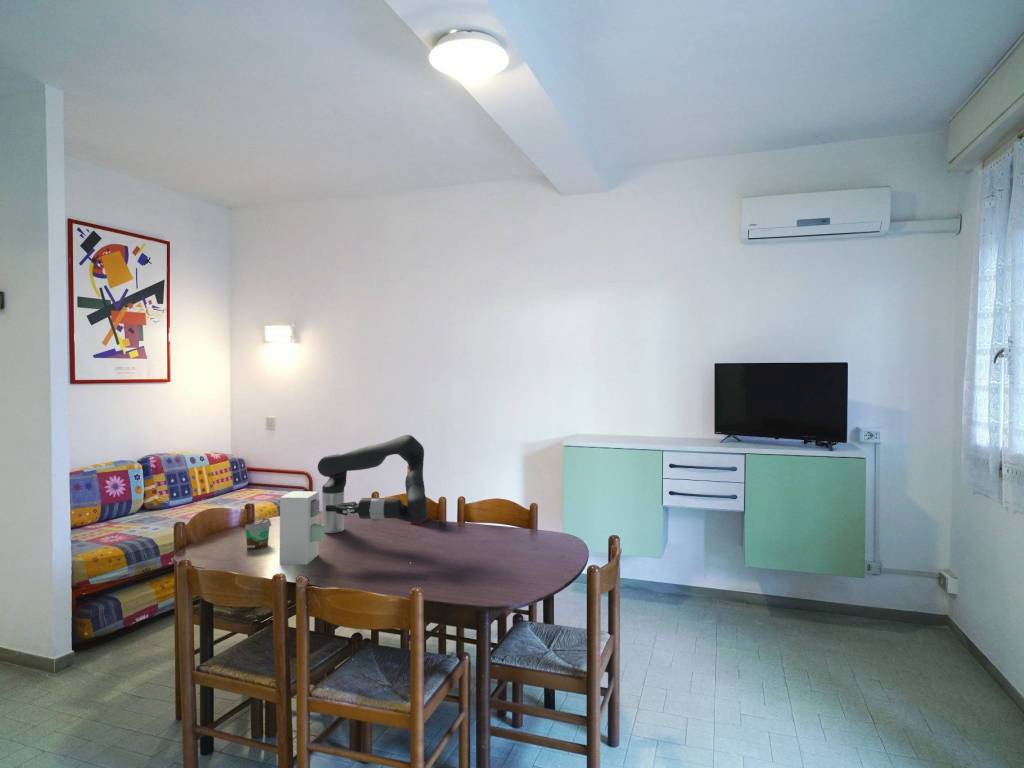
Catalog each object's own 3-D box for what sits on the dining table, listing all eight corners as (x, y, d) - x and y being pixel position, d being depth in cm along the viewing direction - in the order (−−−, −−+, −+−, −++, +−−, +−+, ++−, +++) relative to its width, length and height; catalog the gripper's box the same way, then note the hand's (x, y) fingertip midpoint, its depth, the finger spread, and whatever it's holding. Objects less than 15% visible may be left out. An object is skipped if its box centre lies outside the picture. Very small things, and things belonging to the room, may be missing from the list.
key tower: (291, 554, 231) (292, 491, 230) (318, 554, 231) (318, 491, 230) (279, 564, 219) (280, 497, 218) (307, 564, 219) (307, 497, 218)
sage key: (308, 537, 227) (308, 524, 227) (324, 537, 227) (324, 524, 227) (303, 540, 222) (304, 527, 222) (320, 541, 222) (320, 527, 222)
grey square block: (303, 513, 227) (303, 499, 227) (319, 513, 227) (319, 500, 227) (298, 516, 222) (298, 502, 222) (314, 516, 222) (314, 502, 222)
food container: (258, 551, 234) (259, 525, 234) (244, 550, 235) (244, 524, 235) (277, 543, 246) (277, 518, 246) (263, 542, 247) (264, 517, 247)
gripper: (377, 494, 231) (331, 494, 231) (368, 501, 218) (320, 501, 218) (377, 514, 231) (331, 514, 231) (368, 522, 218) (320, 522, 218)
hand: (326, 508), depth 224 cm, fingers closed
